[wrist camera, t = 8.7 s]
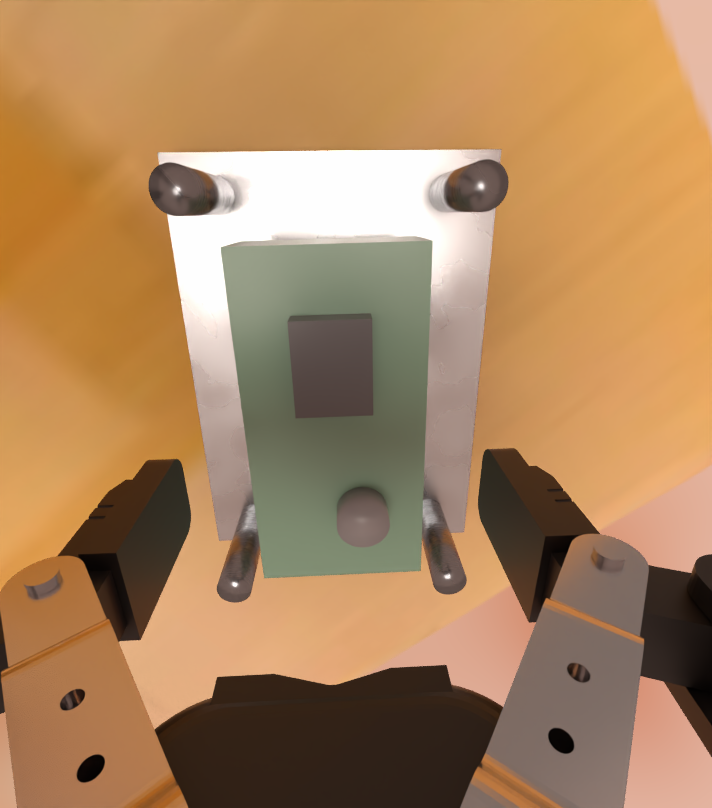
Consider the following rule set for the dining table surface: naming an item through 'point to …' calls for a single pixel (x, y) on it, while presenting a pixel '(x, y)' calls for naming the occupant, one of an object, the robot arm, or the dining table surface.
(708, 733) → the robot arm
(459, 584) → the chassis
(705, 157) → the dining table surface
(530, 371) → the dining table surface
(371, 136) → the dining table surface
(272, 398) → the board
